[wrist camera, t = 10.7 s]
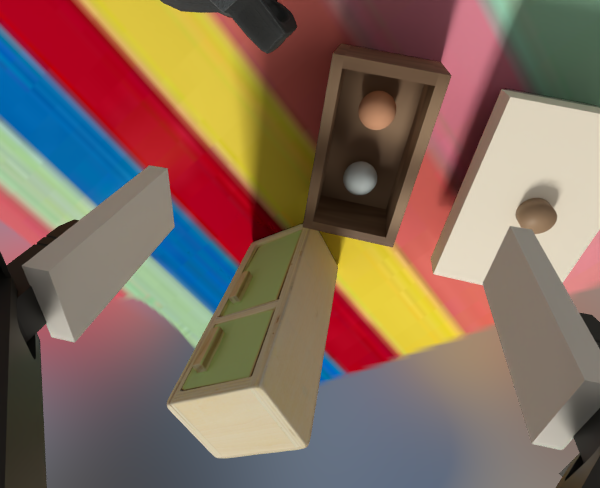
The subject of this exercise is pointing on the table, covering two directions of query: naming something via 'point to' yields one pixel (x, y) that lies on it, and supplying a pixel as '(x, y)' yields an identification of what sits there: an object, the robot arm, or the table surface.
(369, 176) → the ball bluegrey
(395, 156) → the box
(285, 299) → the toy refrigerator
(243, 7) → the mug
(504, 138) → the lid
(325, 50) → the table surface
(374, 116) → the ball terracotta
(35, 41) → the table surface
